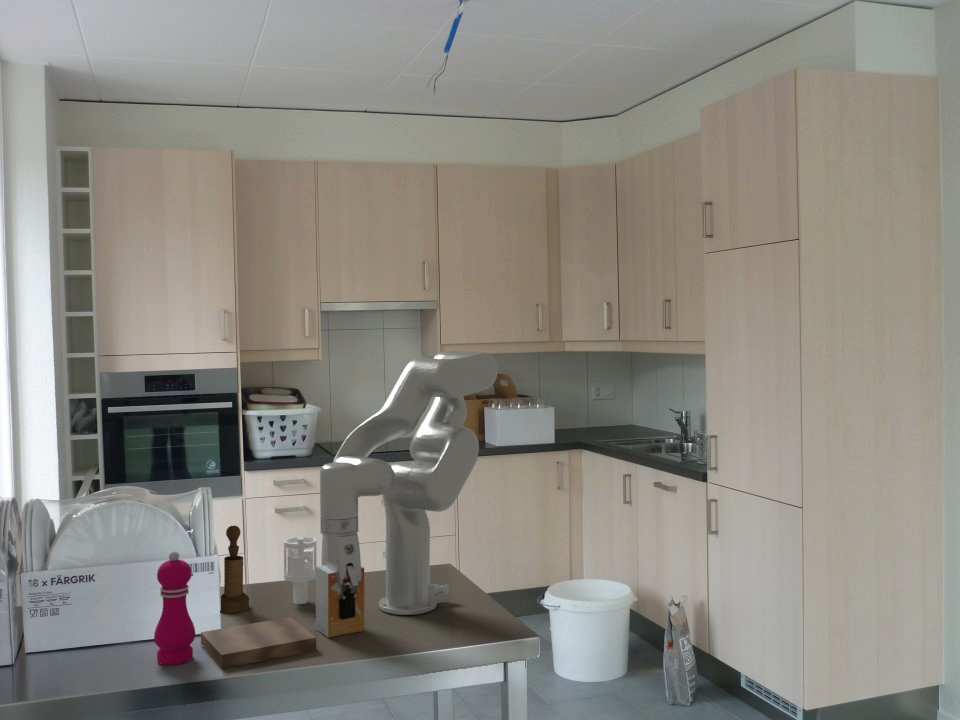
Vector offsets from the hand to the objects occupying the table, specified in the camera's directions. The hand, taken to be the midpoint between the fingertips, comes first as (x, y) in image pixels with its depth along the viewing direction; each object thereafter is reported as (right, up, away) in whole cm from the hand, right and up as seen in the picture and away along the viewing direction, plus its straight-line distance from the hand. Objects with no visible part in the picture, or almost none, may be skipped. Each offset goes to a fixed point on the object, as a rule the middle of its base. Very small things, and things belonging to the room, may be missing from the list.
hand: (340, 612), depth 186 cm
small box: (0, -4, 0) cm, 4 cm away
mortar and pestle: (-25, -3, +14) cm, 29 cm away
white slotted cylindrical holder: (-12, -3, +19) cm, 22 cm away
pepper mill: (-28, -5, -16) cm, 33 cm away
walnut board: (-14, -4, -10) cm, 18 cm away
